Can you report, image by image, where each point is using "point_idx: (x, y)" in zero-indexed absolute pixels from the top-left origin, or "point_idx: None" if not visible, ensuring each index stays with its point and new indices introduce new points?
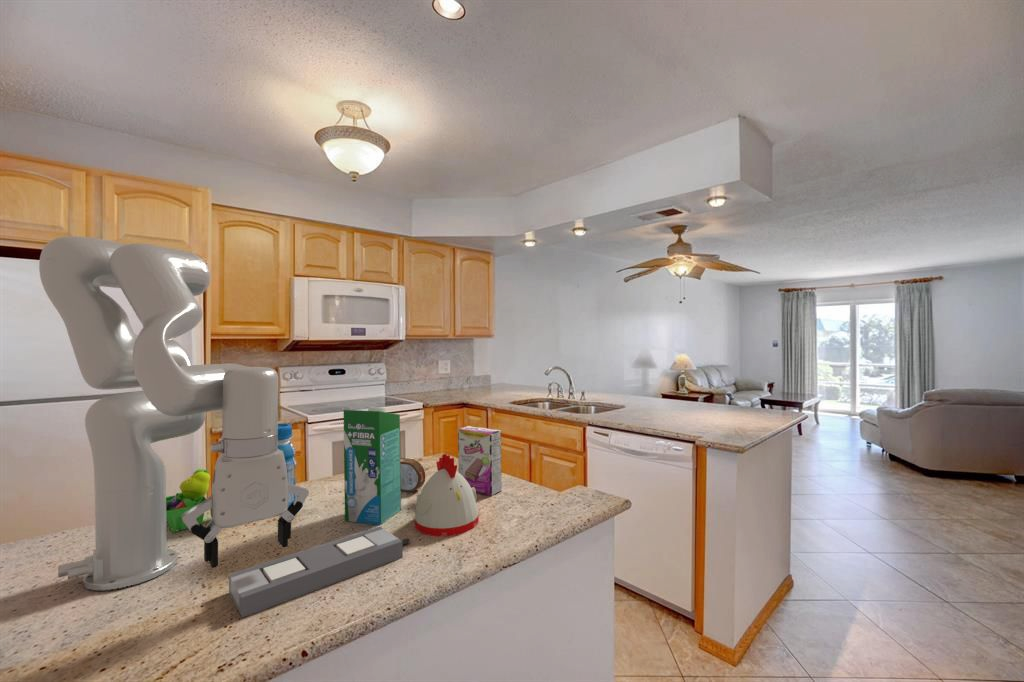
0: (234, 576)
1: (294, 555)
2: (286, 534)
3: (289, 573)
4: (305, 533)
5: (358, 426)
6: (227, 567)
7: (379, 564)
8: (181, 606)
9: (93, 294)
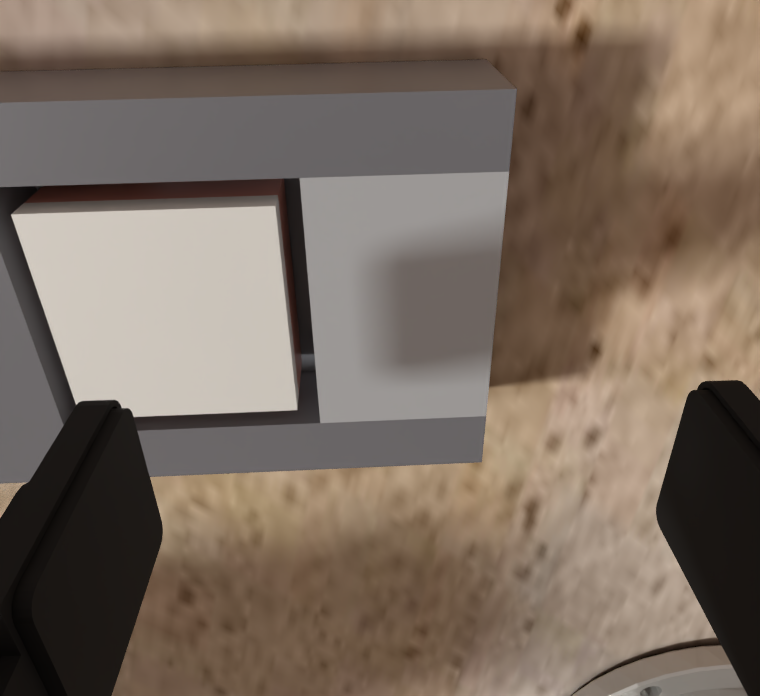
0: (463, 419)
1: None
2: (41, 488)
3: (138, 219)
4: None
5: None
6: (409, 598)
7: None
8: (660, 404)
9: None
